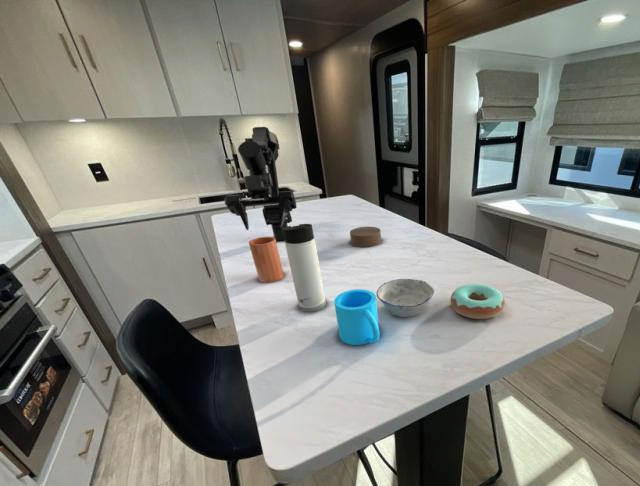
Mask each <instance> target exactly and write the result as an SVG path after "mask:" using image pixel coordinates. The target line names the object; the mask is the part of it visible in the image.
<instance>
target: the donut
mask: <svg viewBox="0 0 640 486" xmlns="http://www.w3.org/2000/svg"><path fill="white" fill-rule="evenodd" d="M450 304H451V307H452V309H453V310H454V311H455V312H456V313H457V314H458V315H461V316H463V317H466V318H469V319H473V320H474V319H475V320H486V319H491V318H494V317H496V316H499V314H501V313H502V311H503V310H504V308H505V304H506V301H505V298H504V296H503V294H502V292H501V291H499V290H498V289H496V288H495V287H493V286H489V285H487V284H480V283H469V284H464V285H462V286H459V287H457V288H456V289H454V291H453V292H452V294H451V296H450Z"/></svg>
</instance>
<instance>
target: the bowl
mask: <svg viewBox="0 0 640 486" xmlns="http://www.w3.org/2000/svg"><path fill="white" fill-rule="evenodd" d="M434 293H435V289H434V288H433V287H432V285H430V284H429V283H428V282H426V281H424V280H422V279H415V278H414V279H413V278H400V279H399V278H398V279H392V280H389V281H386V282H384V283H383V284H381V285H380V286H379V287H378V289H377V290H376V298H377V299H378V300H379V301H380V302H381V303H382V304H383V305H384V306H385V308H386V309H387V311H388V312H389V313H391V314H392V315H393V316H395V317H399V318H412V317H415V316H417V315H419V314H421V312H423V310H424V309H425V308H426V306H427V305H428V304H429V302H430V300H431V299H432V297H433V296H434Z"/></svg>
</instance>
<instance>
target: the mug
mask: <svg viewBox="0 0 640 486" xmlns="http://www.w3.org/2000/svg"><path fill="white" fill-rule="evenodd" d="M333 304H334V309H335V316H336V322H337V328H338V335H339V339H340V340H341V341H342V342H343V343H345V344H348V345H351V346H361V345H366V344H375V343H377V342H379V339H380V335H381V332H380V328H379V316H378V305H377V294H375V293H374V292H373V291H371V290H368V289H360V288H356V289H350V290H345V291H343V292H341V293H340V294H337V295H336V296H335V298H334V301H333Z"/></svg>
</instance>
